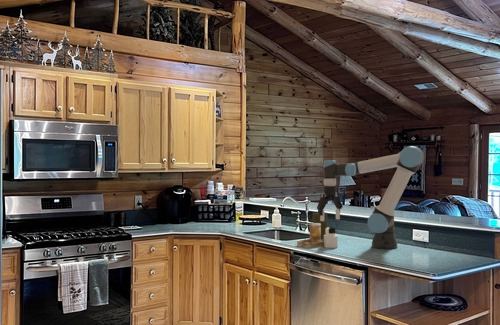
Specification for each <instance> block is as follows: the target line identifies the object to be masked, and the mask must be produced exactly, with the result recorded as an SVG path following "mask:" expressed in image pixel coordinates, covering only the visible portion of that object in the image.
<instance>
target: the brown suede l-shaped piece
mask: <svg viewBox="0 0 500 325" xmlns="http://www.w3.org/2000/svg"><path fill="white" fill-rule="evenodd" d="M296 245H297V247H301V248H306V249H307V248H308V249H316V248H322V247H324V239H322V240H321V224H320V223H313V222H311V223H309V239H308V238H307V239H301V240H296Z"/></svg>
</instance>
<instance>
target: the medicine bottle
mask: <svg viewBox="0 0 500 325" xmlns="http://www.w3.org/2000/svg"><path fill="white" fill-rule="evenodd" d="M325 232H326V235H324V246H323V247H325V249H338V236H337V235H336V228H334V227H332V226H330V227H329V226H328V228H326V229H325Z"/></svg>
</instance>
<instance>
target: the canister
mask: <svg viewBox="0 0 500 325" xmlns="http://www.w3.org/2000/svg"><path fill="white" fill-rule="evenodd" d="M311 215H312V223H320V224H321V240H322V239H324V235H326V232H325V229H326V228H328V227H329V226H328V225H329V224H328V212H324V221H320V210H318V209H317V211H316V212H312V214H311Z"/></svg>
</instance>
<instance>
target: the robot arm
mask: <svg viewBox="0 0 500 325" xmlns="http://www.w3.org/2000/svg"><path fill="white" fill-rule="evenodd" d="M425 157H426V156H425V152H424V151H423V150H422V149H421V148H420V147H418V146H414V145H409V146H406V147H404V148H402V150H401V151H399V152H398V153H396V154H391V155H390V154H389V155H385V156H380V157H377V158H370V159H367V160H361V161H357V162H352V163H350V162H349V163H347V162H346V163H337V161H336V160H324V161H323V167H322V168H323V170H322V171H323V192H324V193H320V197H319V200H318V203H317V206H316V209H317V211H318V210H320V221H324V213H325V210H324V209H325V208H326V206H327V205H328V202H331V201H332V203H333V204H334V206H335V220H341V209H342V208H343V207H344V206H343V203H342V200H341V198H340V192H337V186H336V185H337V177H339V176H340V177H353V176H356V175H361V174H366V173H373V172H377V171H381V170H387V169H393V168H396V171H395V173H394V175H393V176H392V179H391V181H390V183H389V185H388V187H387V189H386V191H385V193H384V194H383V197H382V199H381V201H380V203H379V205H376V206H375V208H374V209H373V212H372V213H371V214H370V215H369V217H368V218H367V226H368V228H369V230H370V231H371V232H373V233H374V235H373V238H372V242H371V247H372V248H374V249H381V250H382V249H383V250H385V249H387V250H389V249H392V250H393V249H397V248H398V242H397V239H396V236H395V209H396V207H397V205H398V203H399V201H400V200H401V197H402V195H403V193H404V191H405V189H406V187H407V184H408V183H409V181H410V178H411V177H412V175H414V174H416V173H417V172H418V169H419V167H420V166H421V165H422V164H423V163H424V161H425V159H426V158H425Z"/></svg>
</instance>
